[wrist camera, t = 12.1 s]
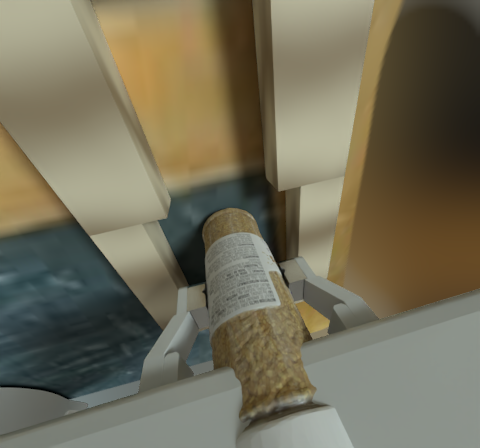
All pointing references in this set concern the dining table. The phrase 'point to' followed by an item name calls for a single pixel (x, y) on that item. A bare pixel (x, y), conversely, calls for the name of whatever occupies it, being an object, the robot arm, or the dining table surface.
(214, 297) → the sprinkles bottle
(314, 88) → the keyhole board
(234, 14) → the dining table surface
